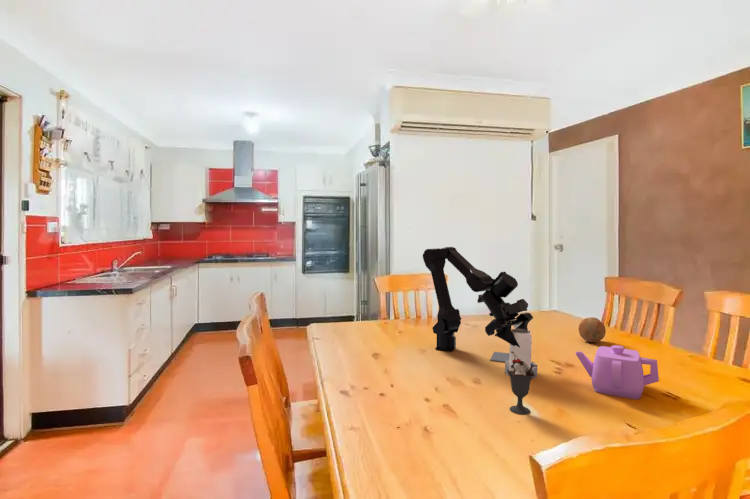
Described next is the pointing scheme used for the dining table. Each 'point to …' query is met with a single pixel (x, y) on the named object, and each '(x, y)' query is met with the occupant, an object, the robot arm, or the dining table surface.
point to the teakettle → (619, 371)
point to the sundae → (520, 383)
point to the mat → (500, 357)
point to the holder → (528, 368)
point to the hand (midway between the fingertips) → (524, 346)
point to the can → (521, 347)
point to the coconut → (592, 329)
